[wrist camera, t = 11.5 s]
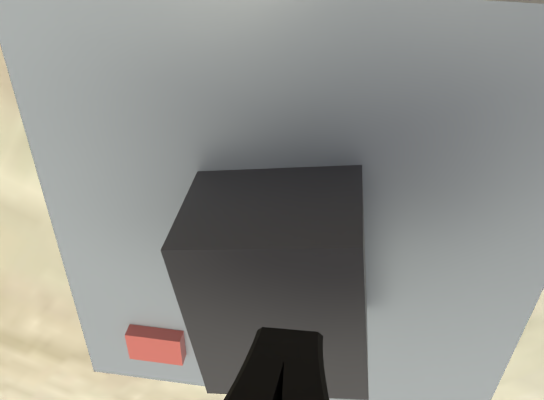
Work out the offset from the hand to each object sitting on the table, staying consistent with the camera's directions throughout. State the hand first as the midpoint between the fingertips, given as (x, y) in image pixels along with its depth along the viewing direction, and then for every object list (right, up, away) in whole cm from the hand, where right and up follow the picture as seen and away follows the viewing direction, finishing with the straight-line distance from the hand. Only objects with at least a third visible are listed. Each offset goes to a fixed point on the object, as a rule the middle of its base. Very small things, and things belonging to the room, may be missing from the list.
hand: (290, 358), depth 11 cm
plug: (0, +3, +9) cm, 9 cm away
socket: (+1, +3, +9) cm, 10 cm away
